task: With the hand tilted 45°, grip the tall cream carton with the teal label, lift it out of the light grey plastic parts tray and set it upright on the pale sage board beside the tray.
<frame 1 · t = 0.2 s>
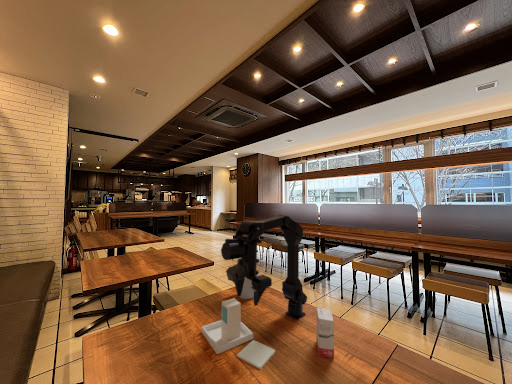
hand: (247, 300, 76), 14 cm above the table, tool pointing down, fingers open, 9 cm apart
carton: (230, 339, 76), resting on parts tray
parts tray: (226, 336, 78), on the table
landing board: (256, 355, 69), on the table
ink box: (325, 349, 72), on the table
potted plant: (247, 296, 112), on the table
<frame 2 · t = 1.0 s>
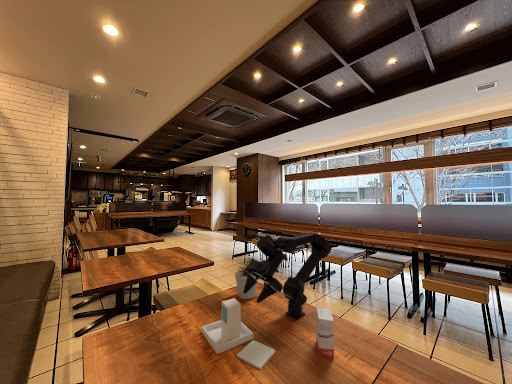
hand: (250, 297, 81), 13 cm above the table, tool tilted 45°, fingers open, 9 cm apart
nothing on the table moved.
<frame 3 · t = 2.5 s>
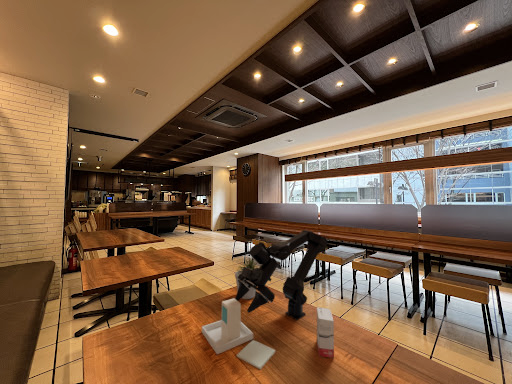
hand: (241, 306, 78), 11 cm above the table, tool tilted 45°, fingers open, 9 cm apart
nothing on the table moved.
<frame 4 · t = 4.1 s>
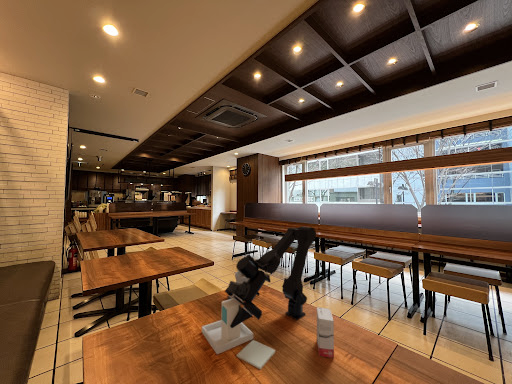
hand: (227, 323, 75), 7 cm above the table, tool tilted 45°, fingers closed on carton, 5 cm apart
carton: (230, 339, 76), point 1 cm above the table, touching gripper, parts tray
everything else where it was.
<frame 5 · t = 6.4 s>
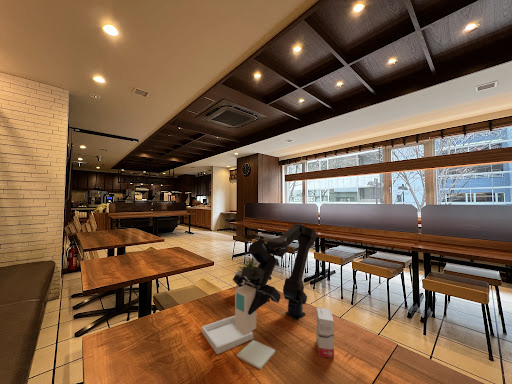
hand: (243, 311, 70), 13 cm above the table, tool tilted 45°, fingers closed on carton, 5 cm apart
carton: (245, 328, 71), point 7 cm above the table, touching gripper
everything else where it was.
when the fingers open (8 cm above the table, at t = 8.4 s): carton drops 1 cm, resting on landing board.
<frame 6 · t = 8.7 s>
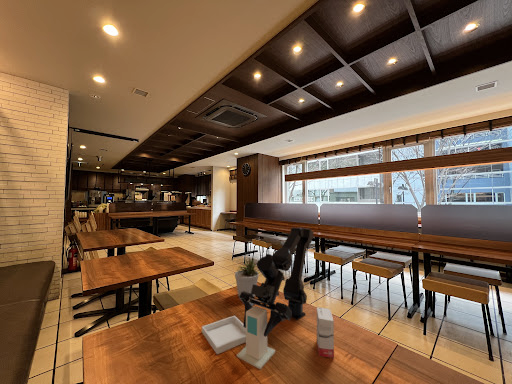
hand: (254, 331, 68), 8 cm above the table, tool tilted 45°, fingers open, 8 cm apart
carton: (256, 352, 69), point 1 cm above the table, touching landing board
everything else where it was.
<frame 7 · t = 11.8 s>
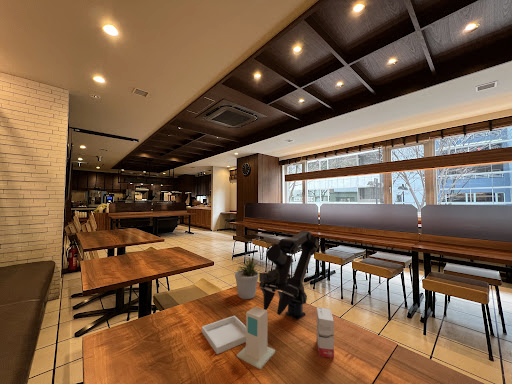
hand: (271, 312, 77), 10 cm above the table, tool tilted 30°, fingers open, 9 cm apart
nothing on the table moved.
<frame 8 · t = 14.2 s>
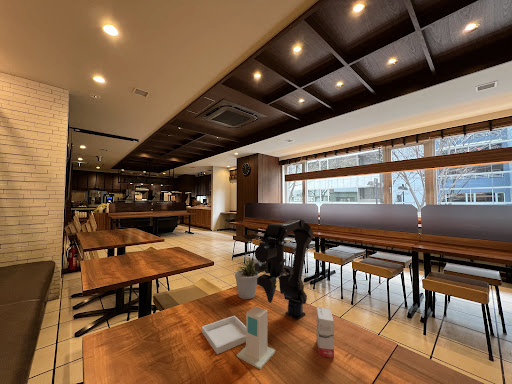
hand: (276, 297, 81), 13 cm above the table, tool pointing down, fingers open, 9 cm apart
nothing on the table moved.
at the end: carton 0.1 cm off-centre on the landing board, point 1.0 cm above the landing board's base; carton tilted 0°; the gripper is holding nothing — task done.
